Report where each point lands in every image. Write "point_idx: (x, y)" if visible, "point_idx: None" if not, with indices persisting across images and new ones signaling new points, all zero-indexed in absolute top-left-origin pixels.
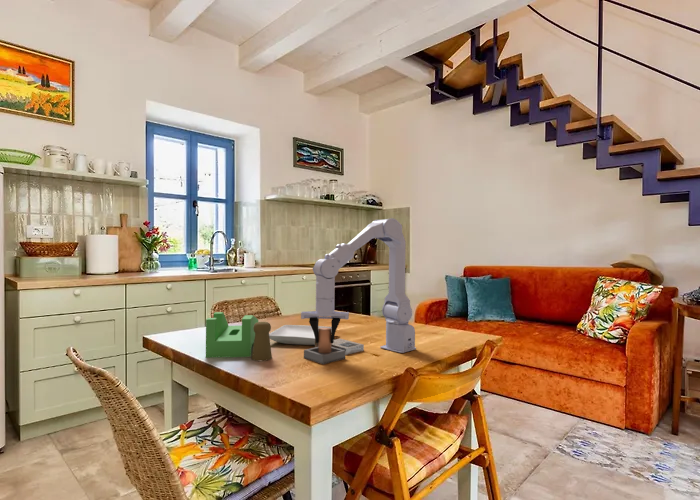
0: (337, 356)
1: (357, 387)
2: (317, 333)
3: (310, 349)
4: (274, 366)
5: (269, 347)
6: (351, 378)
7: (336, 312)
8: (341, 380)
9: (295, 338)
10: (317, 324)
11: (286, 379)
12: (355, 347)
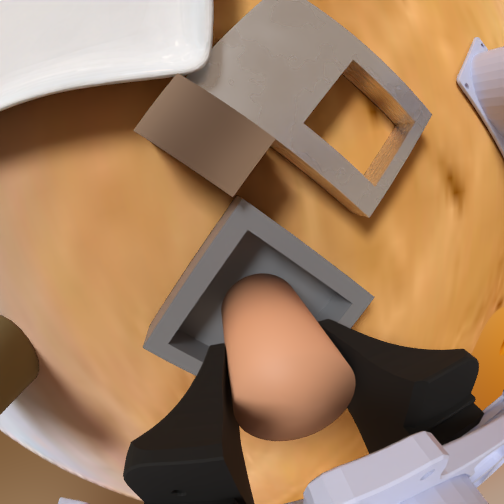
0: None
1: None
2: (236, 423)
3: (175, 332)
4: (106, 429)
5: (12, 383)
6: None
7: (477, 478)
8: (342, 458)
9: (9, 106)
10: (245, 481)
11: None
12: (403, 158)
